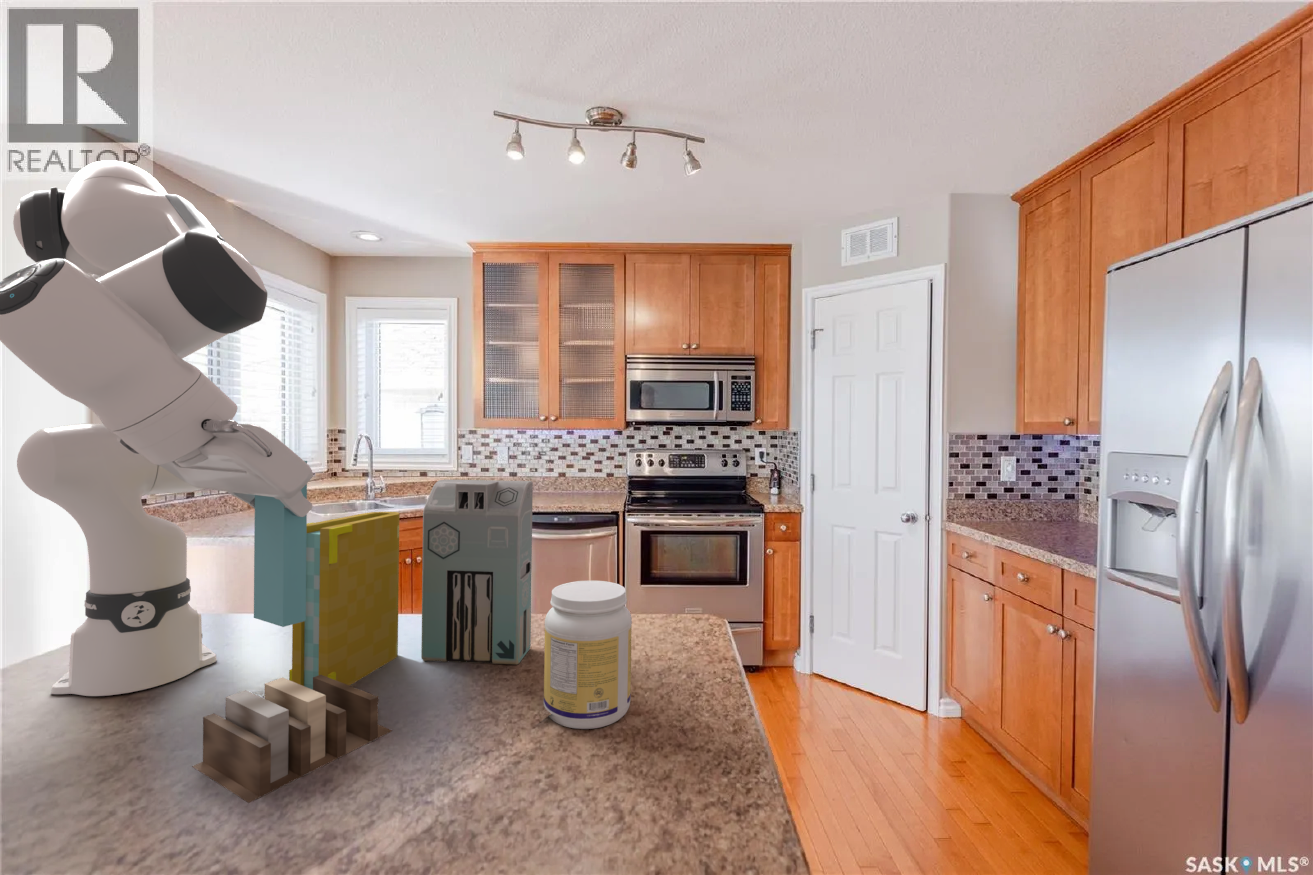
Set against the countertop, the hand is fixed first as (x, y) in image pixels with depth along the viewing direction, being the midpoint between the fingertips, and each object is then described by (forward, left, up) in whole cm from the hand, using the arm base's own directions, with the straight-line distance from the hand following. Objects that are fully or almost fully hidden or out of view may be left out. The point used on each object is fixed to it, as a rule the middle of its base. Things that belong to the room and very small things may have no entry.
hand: (285, 509), depth 65 cm
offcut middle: (0, +1, -28) cm, 28 cm away
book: (-20, +12, -30) cm, 37 cm away
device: (-18, +31, -30) cm, 46 cm away
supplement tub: (+10, +35, -30) cm, 47 cm away
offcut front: (+1, -3, -28) cm, 28 cm away
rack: (-1, +2, -30) cm, 30 cm away
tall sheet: (0, -1, -12) cm, 12 cm away
